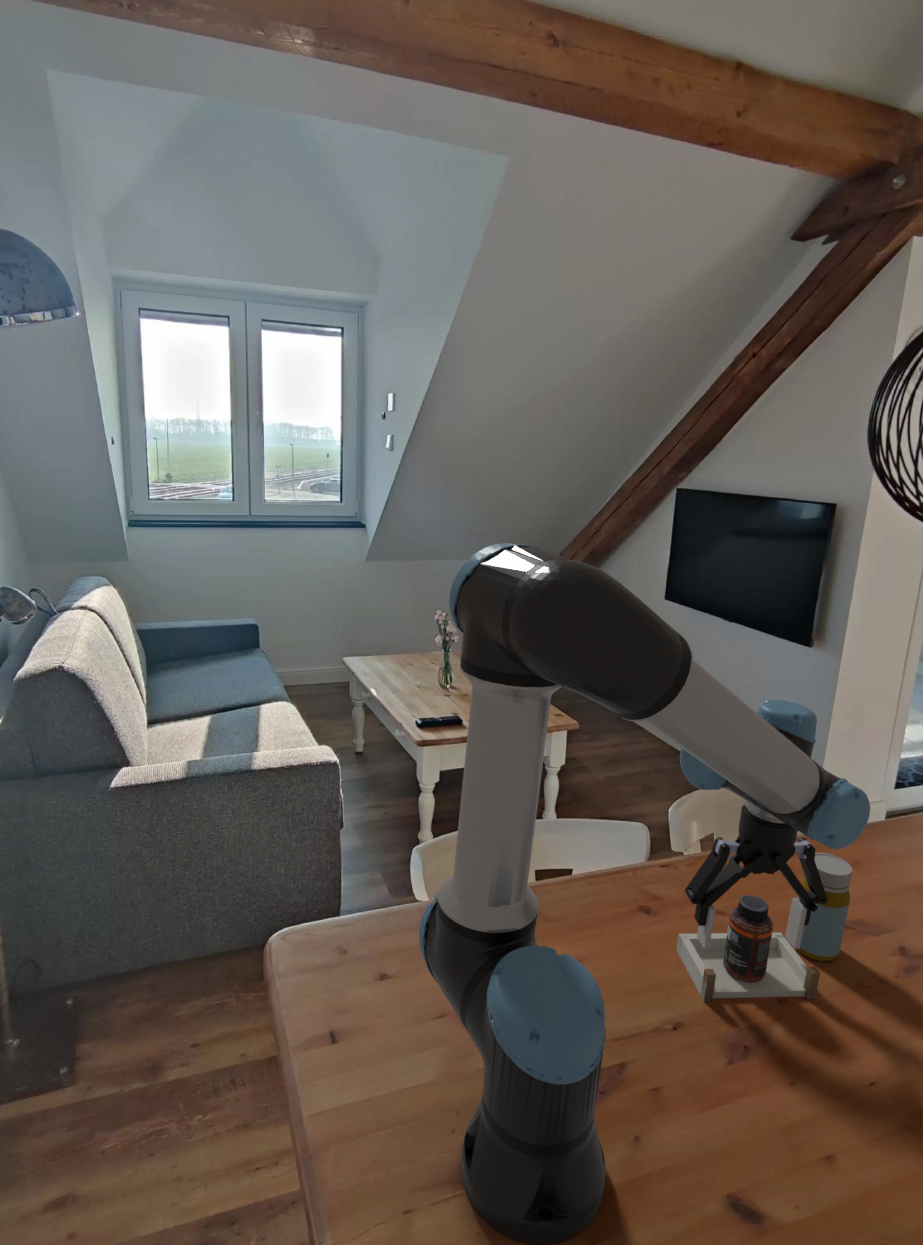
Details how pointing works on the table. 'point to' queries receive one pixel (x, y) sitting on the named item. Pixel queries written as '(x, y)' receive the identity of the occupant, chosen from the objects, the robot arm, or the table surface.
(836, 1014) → the table surface
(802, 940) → the bottle
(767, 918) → the supplement bottle
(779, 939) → the bay
